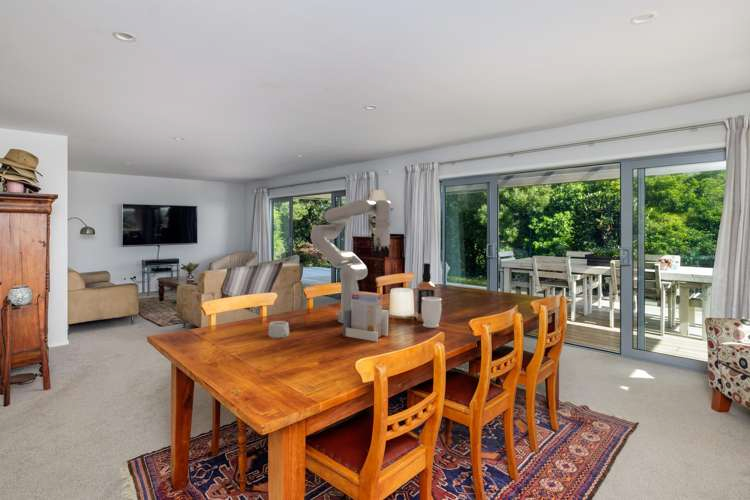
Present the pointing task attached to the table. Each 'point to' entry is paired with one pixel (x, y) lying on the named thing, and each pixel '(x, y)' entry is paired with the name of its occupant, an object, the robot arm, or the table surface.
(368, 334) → the shelf nook
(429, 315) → the jar
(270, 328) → the grey rounded block
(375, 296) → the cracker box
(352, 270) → the robot arm
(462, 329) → the table surface
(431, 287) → the whiskey bottle
